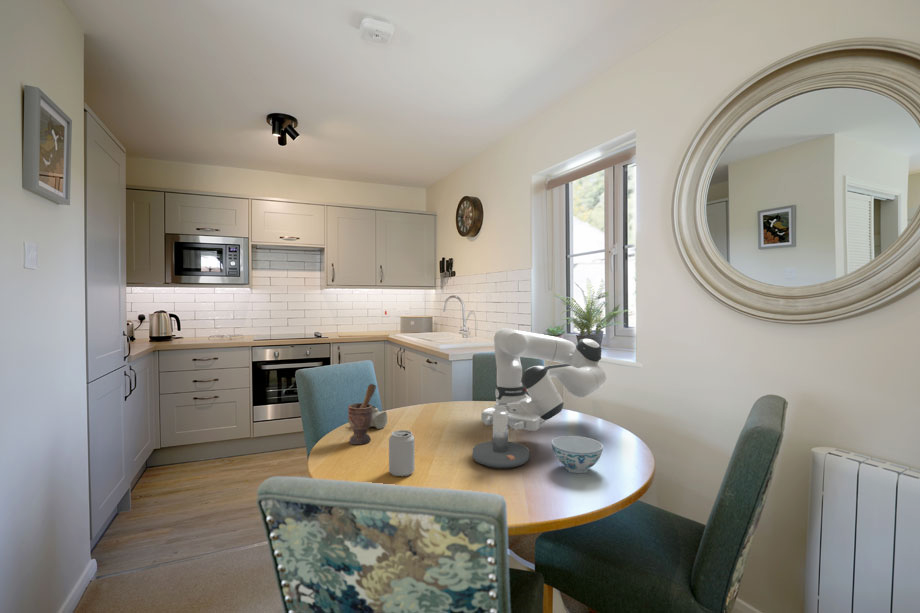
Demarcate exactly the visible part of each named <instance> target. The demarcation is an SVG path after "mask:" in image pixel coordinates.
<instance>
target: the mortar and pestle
mask: <svg viewBox="0 0 920 613" xmlns="http://www.w3.org/2000/svg"><path fill="white" fill-rule="evenodd" d="M376 390H377V385H376V384H373V383H370V384H368V387H367V389H366V392H365V396H364V398H363V402H359V403H353V404H352V403H351V404H349V405H348V406H347V407H348V408H347V409H348V411H347V414H348V416H347V417H348V423H349V426H350V427H349V428H350V429H351V430H352V431H353V434H352V435H351V436H350V438H349V443H350V444H351V445H365V444H368V443H370V442H371V441H372V438H371V436H370V435H369V434H368V433H367V431H368V429H369V428H371V427H370V426H371V422H372V415H373V414H372V412H373V408H372V407H373V406H374V405H373V404H372V403H371V400H372V398H373V396H374V394H375V392H376Z"/></svg>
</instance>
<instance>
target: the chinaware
mask: <svg viewBox="0 0 920 613" xmlns="http://www.w3.org/2000/svg"><path fill="white" fill-rule="evenodd" d="M551 447H552V449H553V450H552V451H553V453H554V455H555V457H556V459H557V460H558V461H559V463H561V464H562V465H564V468H565V470H567V472H568V471H569V472H571V473H574V474H575V473H576V474H584V473H587V472H588V471H589V469H590V468H591V467H593V466H595V465H596V464H597V463H598V461H599V460H600V458H601V456H602V453H603V450H604V446H603V444H602V443H601V442H600V441H598V440H596V439H593V438H590V437H585V436H579V435H562V436H557V437H555V438H553V439H552V440H551Z"/></svg>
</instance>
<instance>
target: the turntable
mask: <svg viewBox="0 0 920 613" xmlns="http://www.w3.org/2000/svg"><path fill="white" fill-rule="evenodd" d="M472 459H473V460H474V461H476V462H477V463H478V464H481V465H483V464H484V465H483V466H485V465H488V466H494V467H513V466H517V467H519V466H521V465H524V464H525V463H527V462H528V461H529V460H530V450H529V448H528V447H527V446H525V445H523V444H521V443H518V442H514V441H508V452H505V453H498V452H494V451H493V440H488V441H483V442H481V443H478V444H475V445H474V446H473V447H472ZM518 465H519V466H518ZM488 466H487V467H488ZM513 468H514V467H513Z"/></svg>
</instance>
